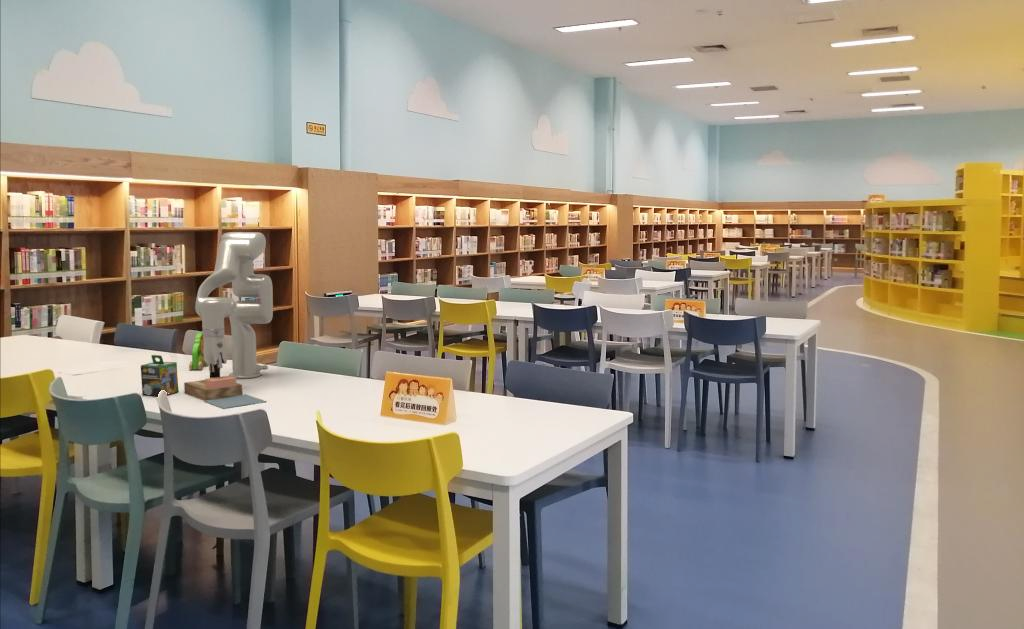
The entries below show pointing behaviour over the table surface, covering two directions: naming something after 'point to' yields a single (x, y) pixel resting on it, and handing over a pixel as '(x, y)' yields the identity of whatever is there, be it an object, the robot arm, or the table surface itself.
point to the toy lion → (198, 353)
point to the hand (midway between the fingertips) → (215, 382)
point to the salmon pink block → (220, 382)
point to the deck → (210, 390)
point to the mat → (234, 401)
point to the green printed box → (159, 377)
